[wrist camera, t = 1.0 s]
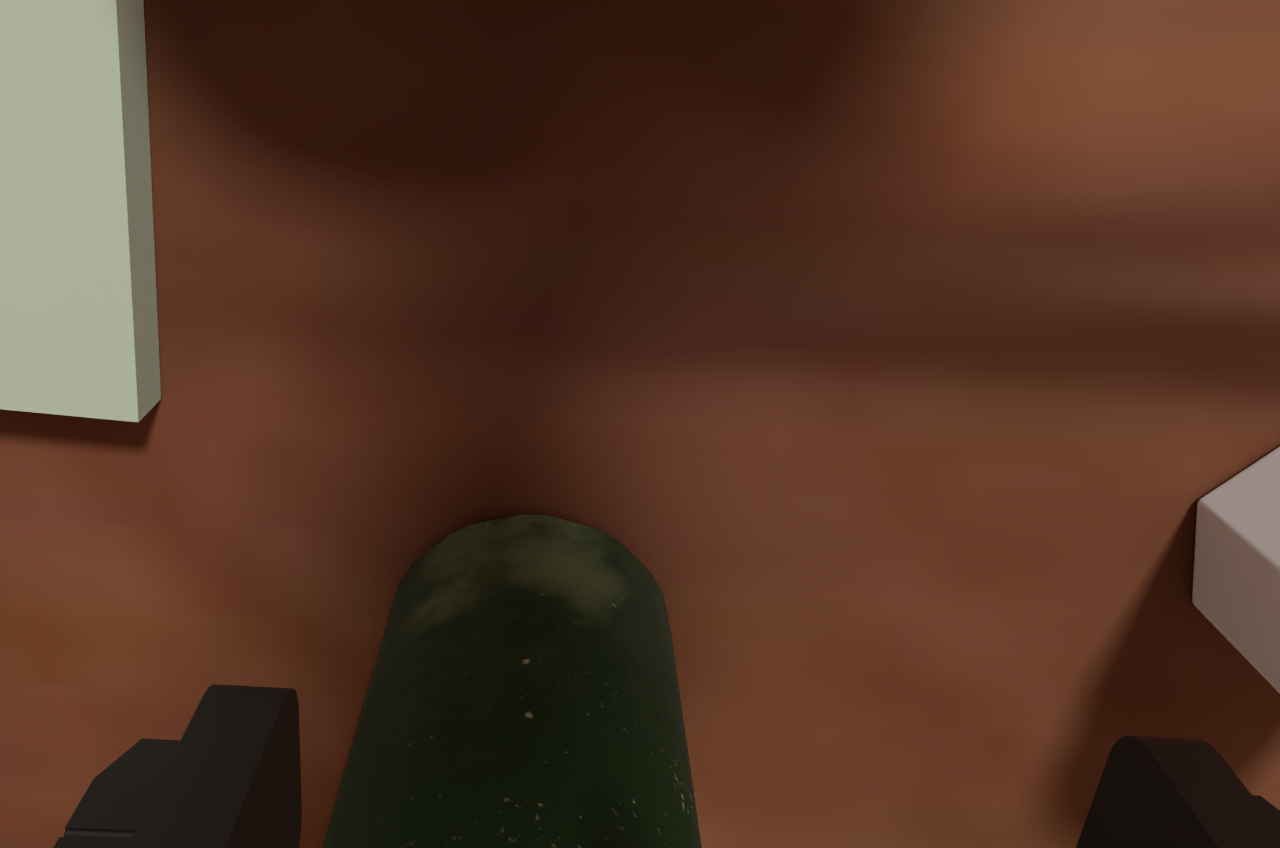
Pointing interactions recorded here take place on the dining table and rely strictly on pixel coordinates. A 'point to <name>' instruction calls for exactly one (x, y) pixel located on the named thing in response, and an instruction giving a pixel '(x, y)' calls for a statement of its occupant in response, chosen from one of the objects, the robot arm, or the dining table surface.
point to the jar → (1243, 563)
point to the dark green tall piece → (521, 702)
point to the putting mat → (76, 211)
